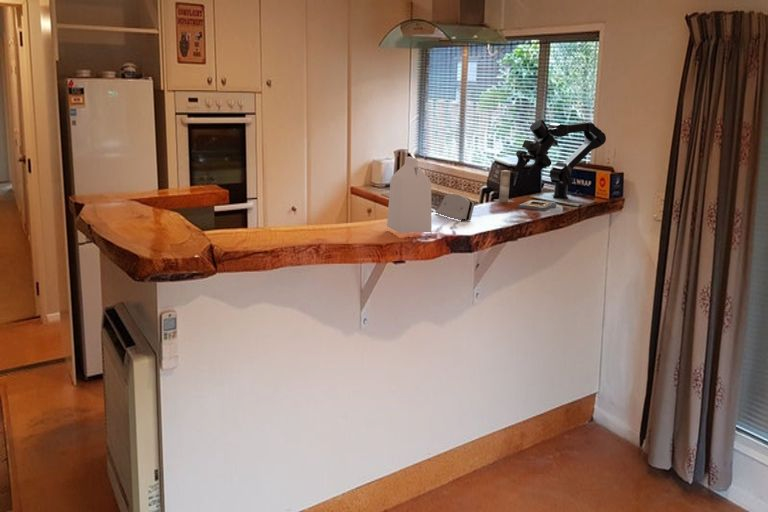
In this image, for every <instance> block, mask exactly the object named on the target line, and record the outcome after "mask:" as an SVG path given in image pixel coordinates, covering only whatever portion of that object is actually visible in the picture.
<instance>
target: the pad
mask: <svg viewBox="0 0 768 512" xmlns="http://www.w3.org/2000/svg"><path fill="white" fill-rule="evenodd" d="M494 201H495V202H499V203H513V202H516V201H514V200H511V199H508V201H499V198H497V199H494Z"/></svg>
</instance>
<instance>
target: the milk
mask: <svg viewBox="0 0 768 512" xmlns="http://www.w3.org/2000/svg"><path fill="white" fill-rule="evenodd" d="M389 183H390V184H389V197H388V207H387V209H388V210H387V220H386V221H387V222H386V228H387V227H389V228H391V229H393V230H395V231H397V232H399V233H410V232H431V233H432V182H431V180H430V178H429V177H428V175H426V174H425V173H424V171H423V169H422V168H421V167H419V164H418V159H417V158H415V157H413V156H405V160H404V164H403V165H402V166H401V167H400V168H399V169H398V170H397V171H395V173H393V175H392V176H391V178H390V182H389Z"/></svg>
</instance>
